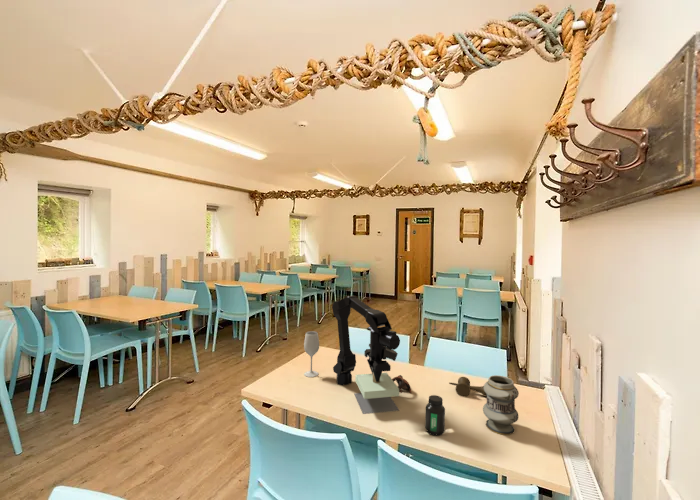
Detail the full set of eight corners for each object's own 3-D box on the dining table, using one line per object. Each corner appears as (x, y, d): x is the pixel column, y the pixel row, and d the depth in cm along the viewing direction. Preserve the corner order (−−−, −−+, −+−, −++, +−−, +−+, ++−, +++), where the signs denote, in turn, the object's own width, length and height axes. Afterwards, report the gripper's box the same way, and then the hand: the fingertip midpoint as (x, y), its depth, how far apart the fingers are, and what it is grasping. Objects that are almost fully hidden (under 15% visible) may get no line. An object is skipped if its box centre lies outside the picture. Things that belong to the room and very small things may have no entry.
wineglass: (321, 373, 168) (322, 332, 167) (312, 378, 161) (312, 336, 161) (310, 370, 172) (310, 330, 171) (300, 375, 165) (301, 333, 165)
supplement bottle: (436, 438, 115) (437, 404, 114) (421, 429, 120) (421, 396, 120) (448, 432, 119) (449, 399, 118) (433, 423, 124) (434, 391, 124)
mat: (362, 416, 128) (362, 413, 128) (353, 395, 145) (353, 393, 145) (399, 413, 131) (399, 410, 131) (386, 393, 148) (386, 390, 148)
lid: (364, 398, 128) (364, 379, 128) (355, 381, 144) (355, 363, 144) (399, 396, 131) (399, 376, 131) (386, 378, 147) (386, 361, 147)
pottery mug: (414, 399, 143) (406, 385, 142) (394, 406, 145) (386, 392, 143) (411, 381, 155) (404, 367, 153) (392, 387, 157) (385, 374, 155)
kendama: (495, 404, 141) (447, 393, 149) (495, 395, 150) (449, 385, 158) (496, 390, 141) (448, 380, 148) (496, 382, 149) (450, 373, 157)
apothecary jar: (482, 415, 131) (484, 370, 130) (516, 422, 126) (518, 376, 125) (482, 432, 119) (483, 383, 119) (519, 440, 115) (521, 389, 114)
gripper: (403, 349, 129) (402, 388, 130) (388, 335, 148) (387, 369, 148) (376, 350, 127) (375, 390, 128) (364, 336, 145) (363, 371, 146)
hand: (376, 379), depth 138 cm, fingers closed on lid, 3 cm apart
